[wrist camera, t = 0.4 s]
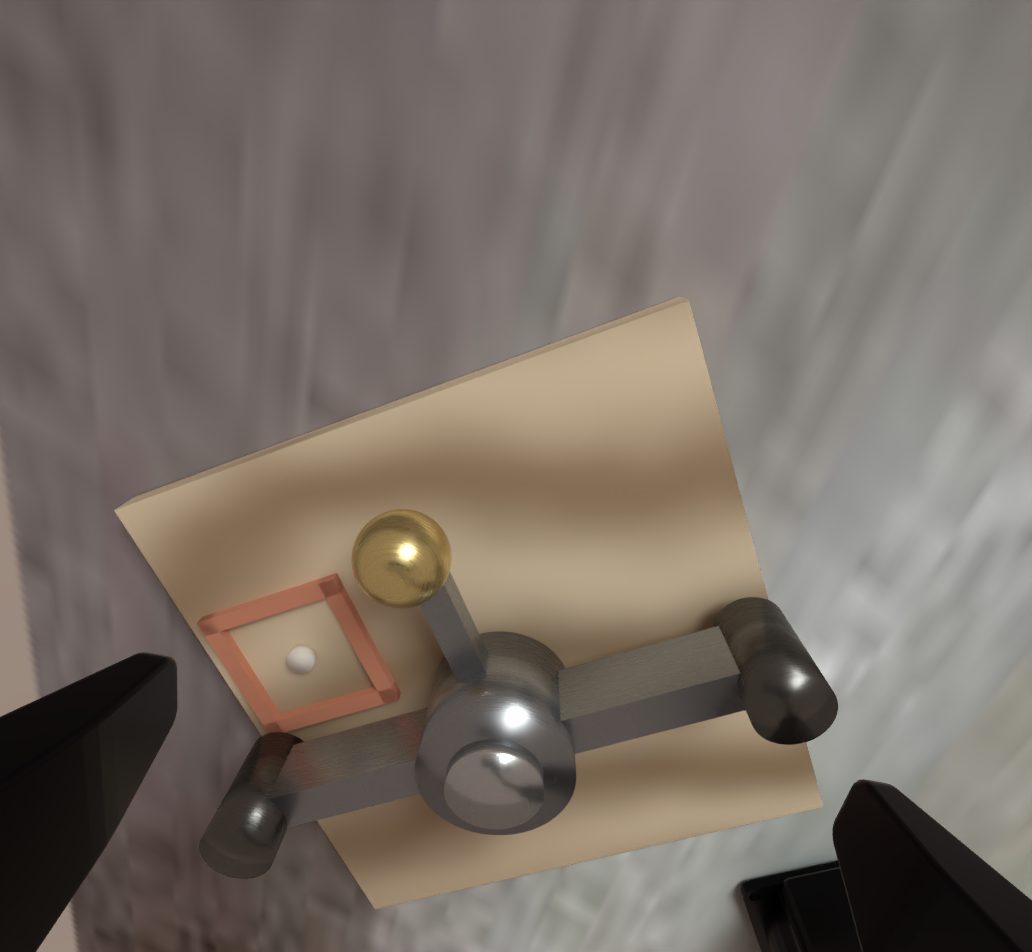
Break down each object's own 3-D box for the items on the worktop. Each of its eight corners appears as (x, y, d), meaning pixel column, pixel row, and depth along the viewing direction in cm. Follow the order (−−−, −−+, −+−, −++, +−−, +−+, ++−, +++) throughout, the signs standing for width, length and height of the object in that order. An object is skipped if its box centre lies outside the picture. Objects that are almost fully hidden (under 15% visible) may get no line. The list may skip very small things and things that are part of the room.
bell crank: (794, 667, 22) (855, 771, 18) (290, 800, 25) (239, 916, 21) (716, 368, 18) (770, 408, 14) (135, 568, 22) (36, 651, 17)
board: (811, 782, 26) (823, 807, 25) (381, 883, 29) (375, 909, 28) (680, 296, 19) (688, 300, 18) (135, 496, 22) (114, 510, 21)
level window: (401, 692, 24) (398, 700, 23) (274, 728, 25) (270, 736, 24) (336, 573, 22) (333, 579, 21) (202, 616, 23) (196, 623, 22)
